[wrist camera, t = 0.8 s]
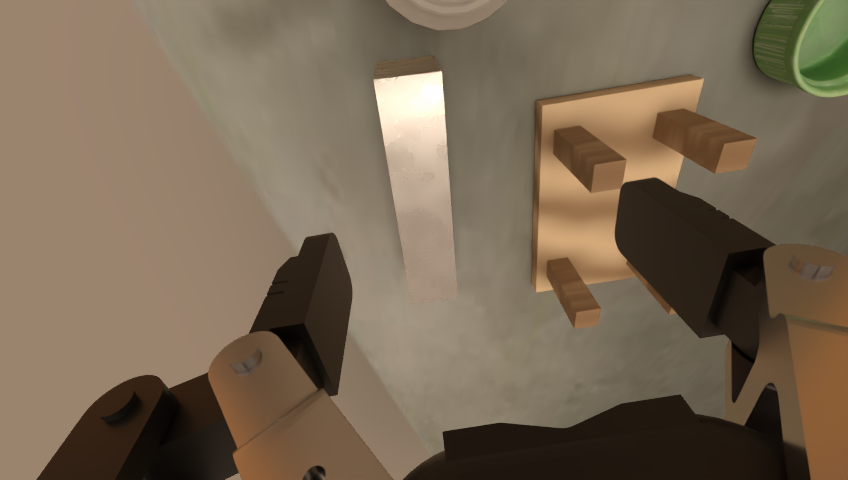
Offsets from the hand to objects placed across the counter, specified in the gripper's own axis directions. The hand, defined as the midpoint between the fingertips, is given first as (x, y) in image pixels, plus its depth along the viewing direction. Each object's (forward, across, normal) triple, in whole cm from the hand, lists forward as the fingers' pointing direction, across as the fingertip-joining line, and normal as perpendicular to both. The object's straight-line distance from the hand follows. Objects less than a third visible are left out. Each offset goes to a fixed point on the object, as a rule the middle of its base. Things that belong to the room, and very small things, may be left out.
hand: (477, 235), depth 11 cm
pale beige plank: (+21, +2, +6) cm, 22 cm away
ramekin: (+21, -28, 0) cm, 35 cm away
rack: (+21, -14, +11) cm, 28 cm away
